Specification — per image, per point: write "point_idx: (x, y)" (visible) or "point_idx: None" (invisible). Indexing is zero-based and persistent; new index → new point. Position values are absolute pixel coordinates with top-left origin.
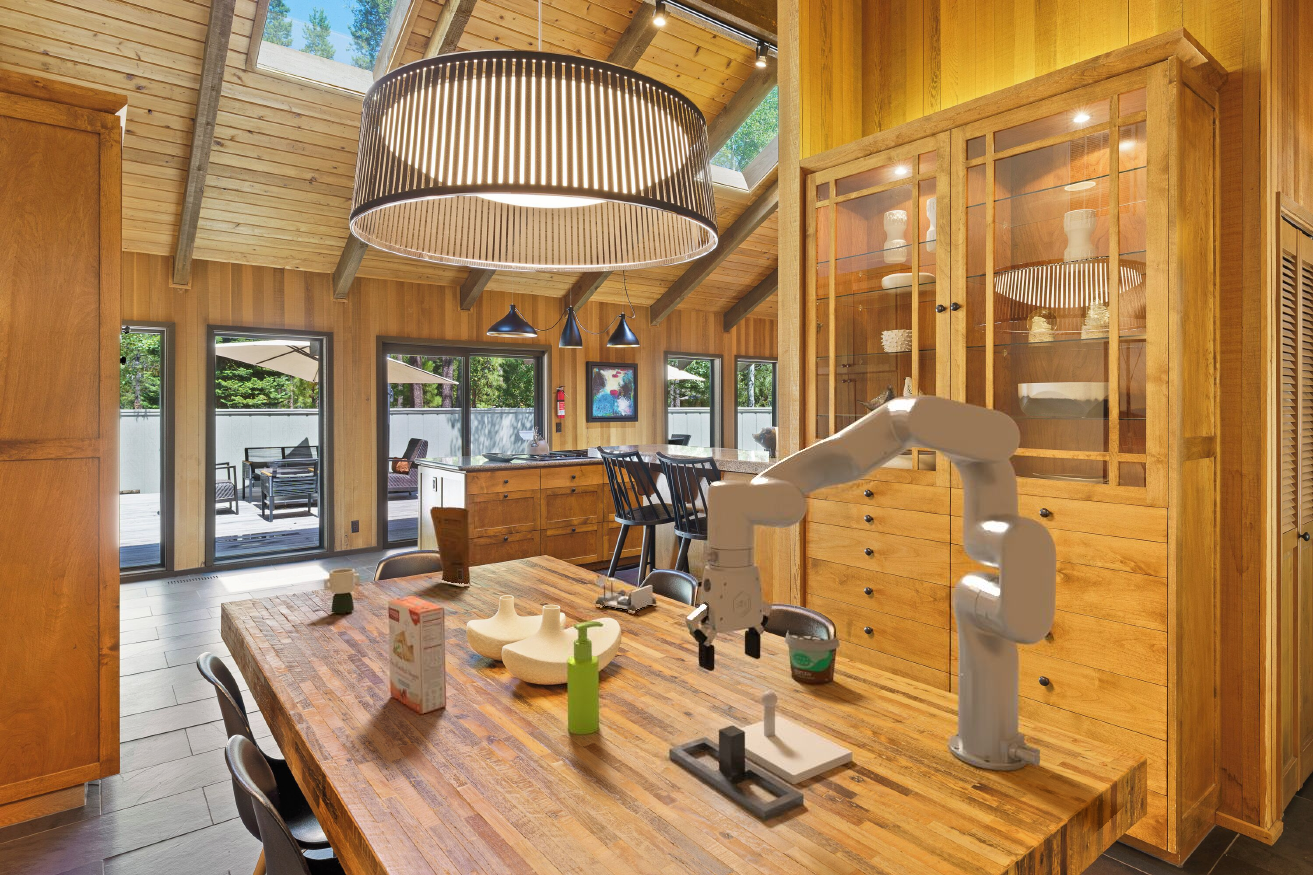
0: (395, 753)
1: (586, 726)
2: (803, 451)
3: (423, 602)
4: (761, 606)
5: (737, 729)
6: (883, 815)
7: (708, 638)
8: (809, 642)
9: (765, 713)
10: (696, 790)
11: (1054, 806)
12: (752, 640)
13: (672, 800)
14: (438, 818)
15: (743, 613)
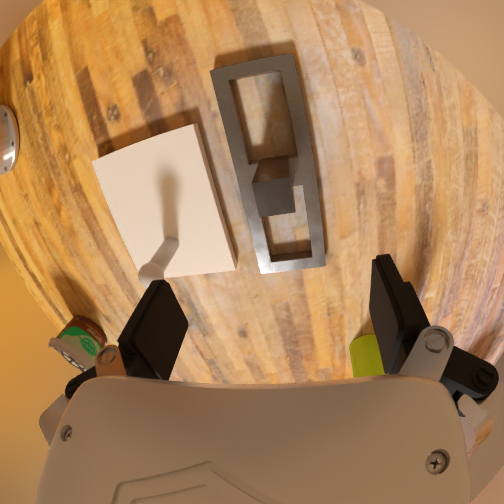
0: (486, 341)
1: (373, 340)
2: None
3: (439, 462)
4: (54, 450)
5: (260, 198)
6: (134, 29)
7: (442, 356)
8: (73, 355)
9: (166, 261)
10: (340, 167)
11: (11, 45)
12: (154, 340)
13: (381, 161)
14: None
15: (188, 485)
